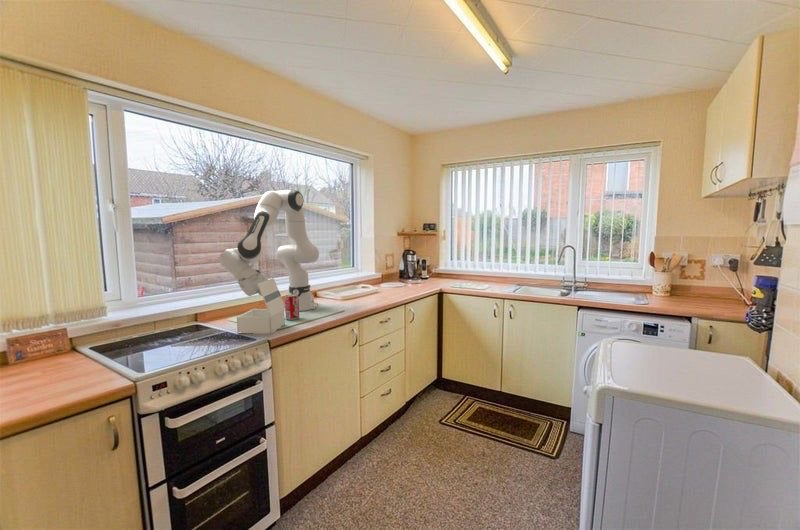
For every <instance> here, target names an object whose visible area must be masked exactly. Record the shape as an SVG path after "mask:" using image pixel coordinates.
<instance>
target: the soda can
mask: <svg viewBox="0 0 800 530" xmlns="http://www.w3.org/2000/svg"><path fill="white" fill-rule="evenodd" d="M288 294H289V293H288ZM288 294H286V295H285V297H284V305H285V307H286V308H285V309H284V314H285V319H286V320H287V319H288V320H287V321H295V320H294V319H296V320H298V319H299V318H300V311H299V299H298V296H297V294H289V295H288Z"/></svg>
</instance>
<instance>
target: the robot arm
mask: <svg viewBox="0 0 800 530" xmlns="http://www.w3.org/2000/svg"><path fill="white" fill-rule="evenodd" d="M303 206H304V196H303V193H301V191H299V190H297V189H296V190H295V189H292V190H291V189H282V190H268V191H265V192H264V194H263V195H262V196H261V198H260V200H259V201H258V202H257V205H256V208H255V210H254V215H253V221H252V223H251V225H250V227H249V229H248V231H247V233H246V234H245V235H244V236H243V237H242V238H241V239H240V240H239V241H238V242H237V247H236V248H227V249H225V250H223V251H222V253H221V254H220V255H219V258H218V259H219V263H220V266H222V268H224V269H225V271H227V273H229V274H231V275H232V276H233V277H234V279H235V280H236V281H237V284H238V285H239V288H240V289H241V291H242V292H244V294H245V295H247V296H248V297H251V296H254V295H256V294H258V295H260V296H261V297H262V294H261V292H260V289H259V287H258V285H257V284H258V283H261V282H264V281H267V280H269V279H268V278H267V277H266V276H265V275H264V274H262V273H263V272H262V270H260V269H255V268H253V267H252V266H254V265H255V264H257V263H258V262H259V261H260V259H261V255H262V254H261V253H262V252H261V249H262V242H261V240H262V237H263V234H264V232H265V230H266V228H267V227H270V226H272V225H274V224H275V222H276V220H277V218H278V216H279V213H280V211H284V219H285V220H284V222H285V233H286V235H287V237H288V238H290V239H292V240H293V241H294V243H295V244H285V245H281V246H279V247H278V248H277V249H276V258H277V260H278V261H279V262H280V263H281V264H282V265H284V267H285V268H286V269H285V270H286V271H287V274H288V280H289V282H288V283H289V286H288V292H289V293H288V294H287V295H289V294H297V296H298V299H299V312H302V311H304V312H305V311H309V310H310V311H311V310H315V309H316V308H317V306H318V304H319V303H318V301H315V298H314V297H315V296H314V295H313V293H312V292H311V284H309V273H308V271H307V270H306V269H304V268H303V267H301V265H300V264H310V263H314V262H317V260H318V259H319V257H320V252H319V249H318V248H317V246H315V245H314V244H313V243H312V242H311V240H310V239H309V237H308V233H307V230H306V229H307V228H306V221H305V212H304V209H303Z"/></svg>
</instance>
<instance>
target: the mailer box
mask: <svg viewBox="0 0 800 530" xmlns="http://www.w3.org/2000/svg"><path fill="white" fill-rule="evenodd" d="M236 324H237V325H236V327H237V333H238V332H241V333H253V334H252V335H272V334H273V333H275V332H276V331H277V329H278V328H279V329H280V328H282V327H283V326H284V324H285V309H283V310H281V311H279V312H278V313H276V314H274V315H273V316H270V314H269V311H268V309H267V308H251V309H250V310H248V311H246V312H244V313H241V314H240V315H238V316H236ZM282 325H283V326H282ZM281 326H282V327H281ZM279 329H278V330H279Z"/></svg>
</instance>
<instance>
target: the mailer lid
mask: <svg viewBox="0 0 800 530" xmlns="http://www.w3.org/2000/svg"><path fill="white" fill-rule="evenodd" d="M257 285H258V287H259V289H260V292H261V294H262V296H261V297H262V299H263V300H264V301H263V302H264V303H265V306H266V309H268V311H269V314H270V316H273V315H274V314H276V313H278V312H279V311H281V310H283V309H284V310H285V308H286V307H285V301H284V300H283V297H282V295H281V293H280V291H279V289H278V285H277V283H276V281H275V278H270V279H268V280H267V281H264V282H261V283H258V284H257Z"/></svg>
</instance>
